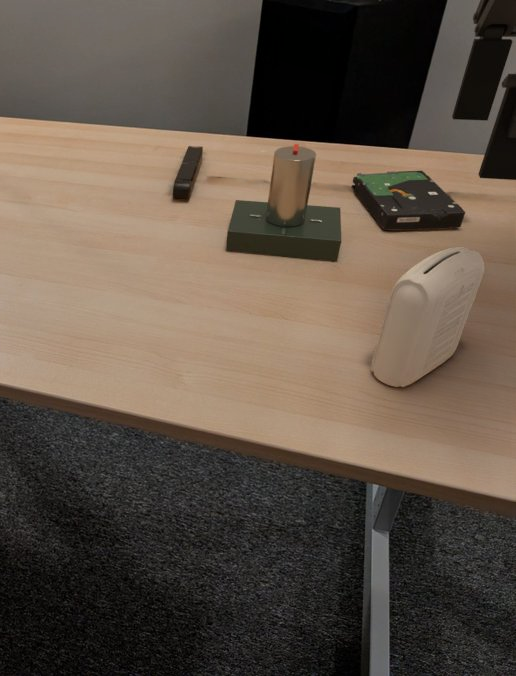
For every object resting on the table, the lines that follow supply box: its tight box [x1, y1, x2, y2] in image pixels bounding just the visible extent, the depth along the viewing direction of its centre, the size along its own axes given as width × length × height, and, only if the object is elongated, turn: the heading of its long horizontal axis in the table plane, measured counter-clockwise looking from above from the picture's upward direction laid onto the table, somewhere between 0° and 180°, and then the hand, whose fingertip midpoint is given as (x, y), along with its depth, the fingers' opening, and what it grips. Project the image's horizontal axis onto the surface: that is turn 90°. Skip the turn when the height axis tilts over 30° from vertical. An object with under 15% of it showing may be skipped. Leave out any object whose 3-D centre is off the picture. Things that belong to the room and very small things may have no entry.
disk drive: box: [351, 170, 466, 231], centre depth 94 cm, size 10×3×15 cm
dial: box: [266, 143, 317, 227], centre depth 84 cm, size 5×5×9 cm
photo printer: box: [370, 246, 485, 388], centre depth 62 cm, size 10×4×12 cm, turn 125°
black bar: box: [172, 145, 204, 201], centre depth 106 cm, size 18×3×3 cm, turn 163°
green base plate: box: [225, 199, 342, 262], centre depth 88 cm, size 14×10×3 cm
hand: (483, 145), depth 53 cm, fingers open, 13 cm apart
